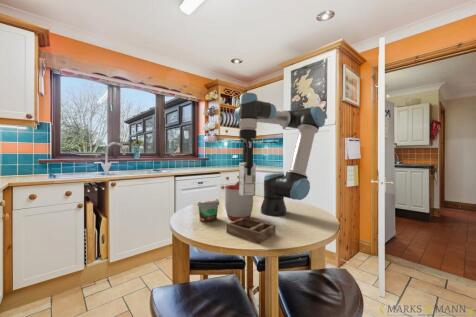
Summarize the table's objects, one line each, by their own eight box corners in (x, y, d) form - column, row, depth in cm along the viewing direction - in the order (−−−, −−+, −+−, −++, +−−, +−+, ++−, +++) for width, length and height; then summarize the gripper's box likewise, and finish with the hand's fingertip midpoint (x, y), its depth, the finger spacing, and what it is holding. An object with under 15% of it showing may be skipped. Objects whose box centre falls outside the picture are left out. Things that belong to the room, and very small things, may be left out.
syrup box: (250, 193, 101) (250, 162, 100) (255, 196, 95) (256, 162, 95) (238, 194, 99) (239, 162, 99) (243, 196, 93) (243, 162, 93)
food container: (203, 224, 107) (204, 204, 107) (197, 221, 112) (197, 202, 111) (223, 219, 115) (224, 200, 115) (217, 216, 120) (217, 198, 119)
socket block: (243, 225, 107) (243, 217, 106) (275, 234, 96) (275, 225, 96) (226, 232, 97) (226, 223, 97) (259, 243, 86) (259, 233, 86)
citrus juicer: (259, 215, 123) (260, 180, 122) (244, 224, 108) (245, 184, 107) (235, 211, 131) (236, 178, 130) (218, 219, 116) (219, 181, 115)
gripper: (237, 131, 105) (236, 178, 106) (242, 127, 86) (241, 185, 87) (252, 131, 106) (251, 178, 107) (261, 127, 87) (260, 185, 88)
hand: (247, 181), depth 97 cm, fingers closed on syrup box, 6 cm apart
